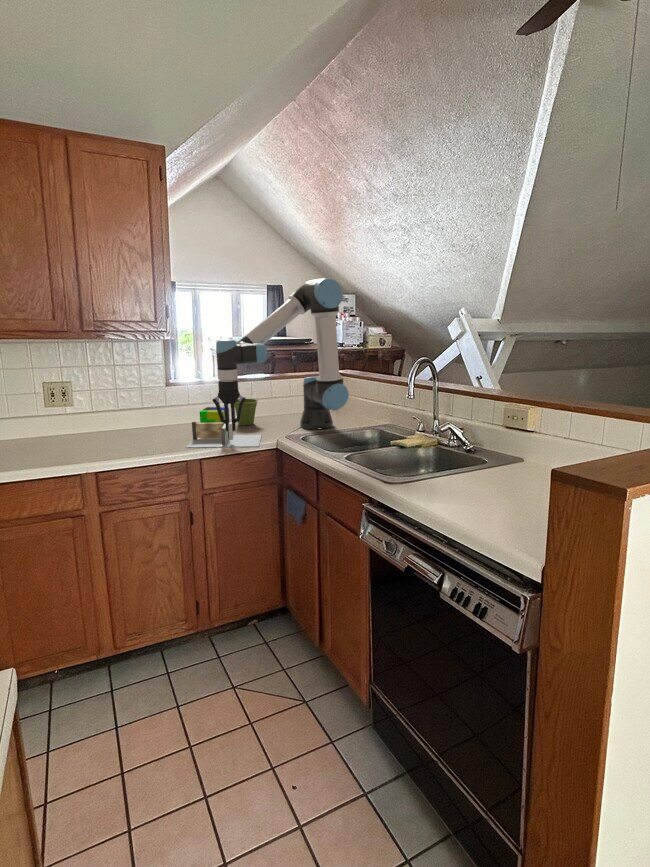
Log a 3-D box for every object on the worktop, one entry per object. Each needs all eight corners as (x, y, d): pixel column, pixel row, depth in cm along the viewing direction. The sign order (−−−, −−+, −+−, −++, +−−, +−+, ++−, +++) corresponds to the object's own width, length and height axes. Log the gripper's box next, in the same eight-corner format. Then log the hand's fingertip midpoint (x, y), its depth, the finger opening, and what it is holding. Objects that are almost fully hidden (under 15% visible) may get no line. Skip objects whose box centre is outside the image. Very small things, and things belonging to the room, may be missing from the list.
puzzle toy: (229, 429, 226) (228, 407, 223) (223, 434, 216) (222, 412, 214) (208, 428, 227) (207, 407, 224) (200, 434, 217) (199, 411, 215)
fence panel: (225, 445, 196) (224, 429, 194) (221, 445, 196) (220, 429, 194) (228, 437, 206) (227, 422, 205) (224, 437, 206) (224, 422, 205)
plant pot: (257, 427, 230) (256, 402, 227) (231, 426, 230) (230, 402, 227) (260, 421, 241) (259, 398, 238) (235, 421, 241) (234, 398, 239)
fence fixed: (229, 438, 209) (228, 421, 207) (229, 439, 207) (228, 422, 205) (193, 439, 208) (192, 421, 206) (192, 440, 207) (191, 422, 205)
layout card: (261, 435, 214) (261, 434, 214) (258, 446, 197) (258, 445, 197) (195, 436, 213) (195, 435, 213) (186, 447, 195) (186, 447, 195)
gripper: (245, 378, 197) (248, 436, 203) (212, 379, 196) (216, 437, 202) (244, 381, 190) (247, 440, 196) (209, 381, 189) (213, 441, 195)
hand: (231, 438), depth 199 cm, fingers closed
